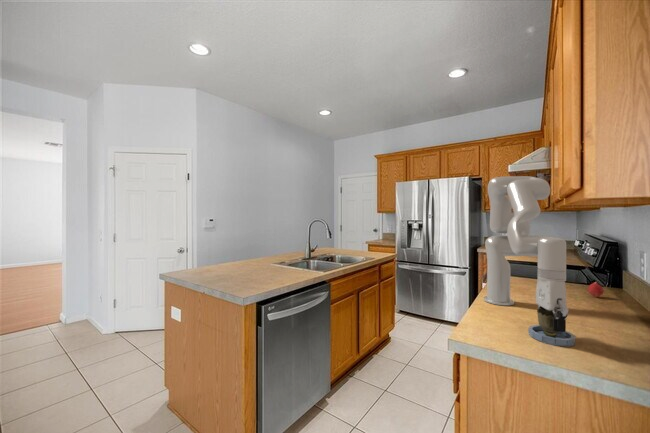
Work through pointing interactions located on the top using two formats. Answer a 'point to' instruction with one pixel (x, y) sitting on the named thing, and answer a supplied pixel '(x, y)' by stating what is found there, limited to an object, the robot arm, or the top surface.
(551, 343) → the dish
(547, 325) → the cup
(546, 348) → the top surface
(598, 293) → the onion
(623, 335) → the top surface
